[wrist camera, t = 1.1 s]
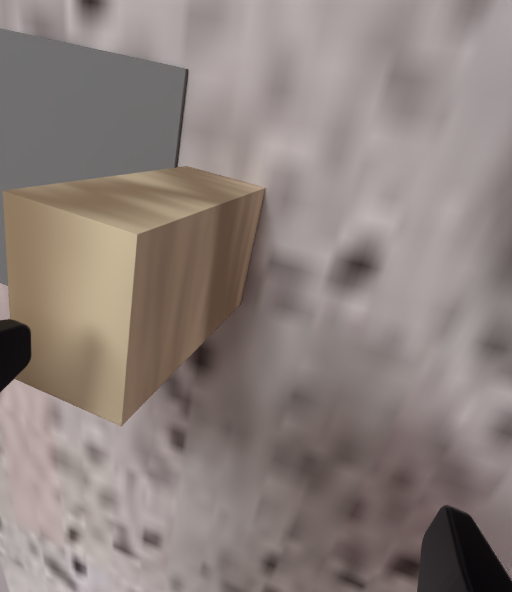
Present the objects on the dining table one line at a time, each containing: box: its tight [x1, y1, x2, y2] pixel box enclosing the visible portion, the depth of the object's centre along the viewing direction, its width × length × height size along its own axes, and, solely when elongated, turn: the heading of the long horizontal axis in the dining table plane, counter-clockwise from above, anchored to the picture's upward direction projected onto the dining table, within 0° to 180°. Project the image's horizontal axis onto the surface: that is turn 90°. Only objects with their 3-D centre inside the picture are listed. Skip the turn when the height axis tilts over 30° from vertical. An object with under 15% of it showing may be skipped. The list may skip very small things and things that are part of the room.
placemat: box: [0, 29, 188, 286], centre depth 22 cm, size 12×14×1 cm
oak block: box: [3, 166, 265, 426], centre depth 16 cm, size 4×6×10 cm, turn 168°
